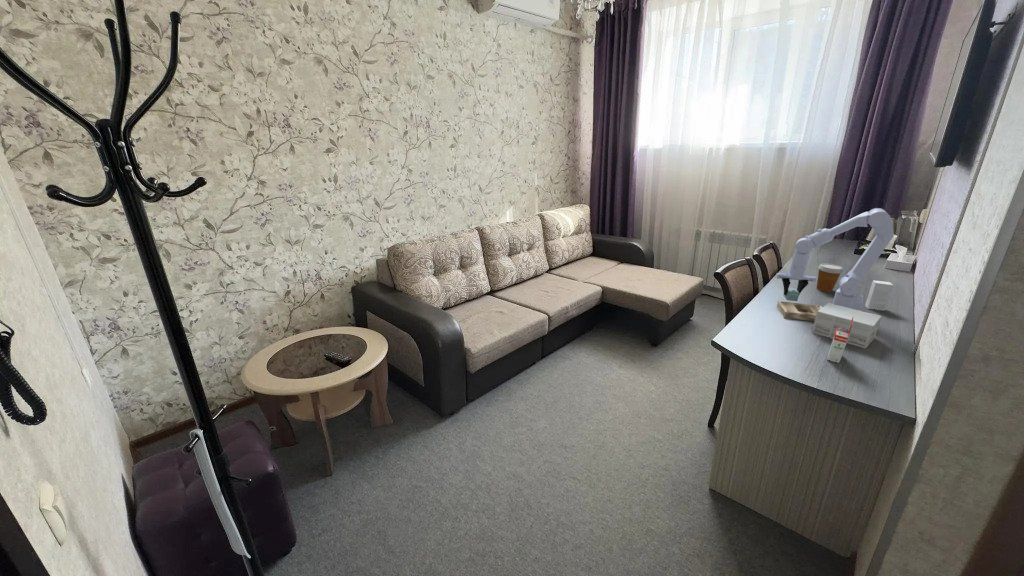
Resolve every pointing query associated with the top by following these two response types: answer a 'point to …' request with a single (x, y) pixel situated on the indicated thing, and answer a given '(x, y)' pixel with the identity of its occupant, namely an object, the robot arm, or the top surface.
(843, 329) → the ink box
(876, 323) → the supplement box
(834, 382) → the top surface
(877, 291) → the skincare box
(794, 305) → the plate
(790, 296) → the servo block
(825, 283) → the orange jar with lid
